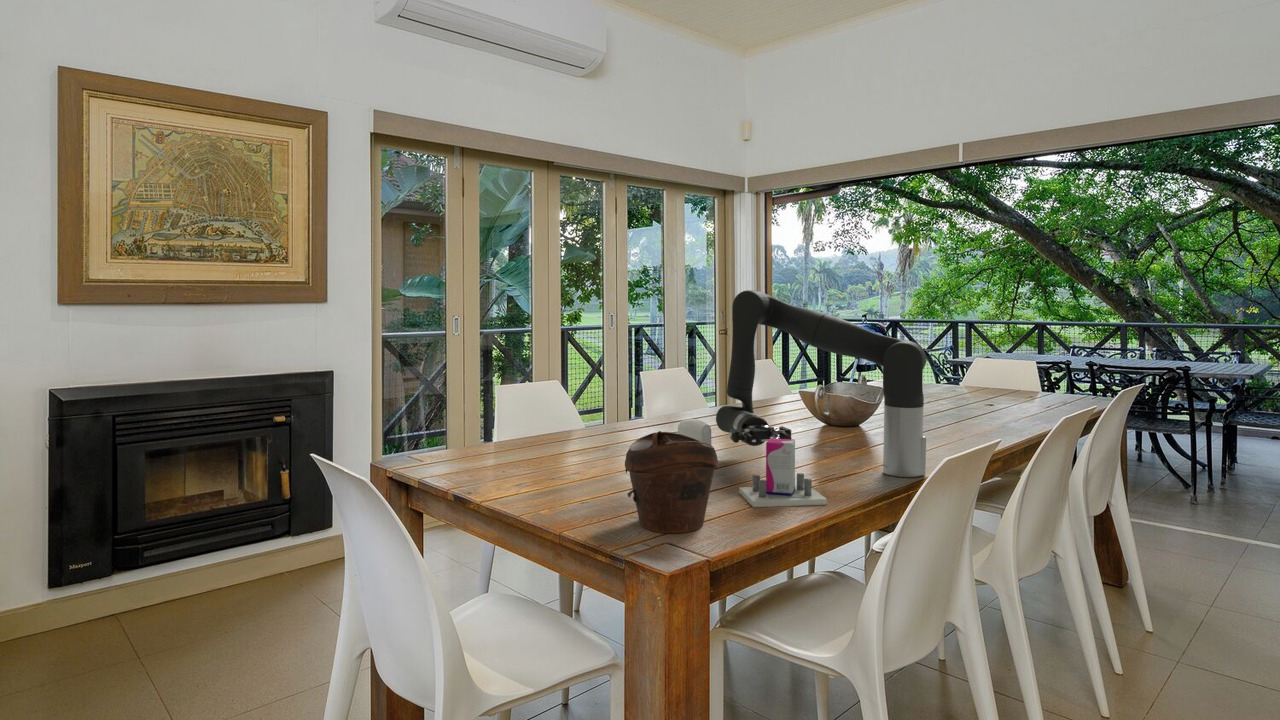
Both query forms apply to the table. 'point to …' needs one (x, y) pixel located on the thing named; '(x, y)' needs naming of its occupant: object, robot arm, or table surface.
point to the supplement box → (780, 466)
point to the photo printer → (695, 430)
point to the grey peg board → (799, 497)
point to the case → (670, 481)
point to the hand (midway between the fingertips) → (768, 439)
